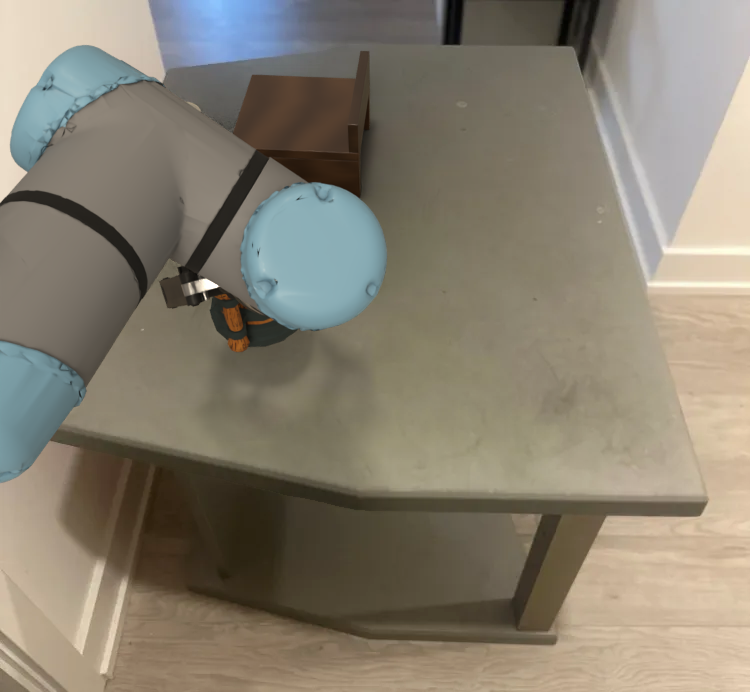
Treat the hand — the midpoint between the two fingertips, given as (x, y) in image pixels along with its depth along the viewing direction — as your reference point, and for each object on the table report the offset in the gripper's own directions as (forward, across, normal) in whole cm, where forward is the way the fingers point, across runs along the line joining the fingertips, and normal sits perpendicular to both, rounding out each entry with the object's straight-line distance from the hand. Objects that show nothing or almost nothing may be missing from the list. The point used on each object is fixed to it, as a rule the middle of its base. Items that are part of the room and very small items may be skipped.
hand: (249, 270), depth 73 cm
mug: (+1, -1, -5) cm, 5 cm away
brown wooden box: (+27, +14, +12) cm, 33 cm away
